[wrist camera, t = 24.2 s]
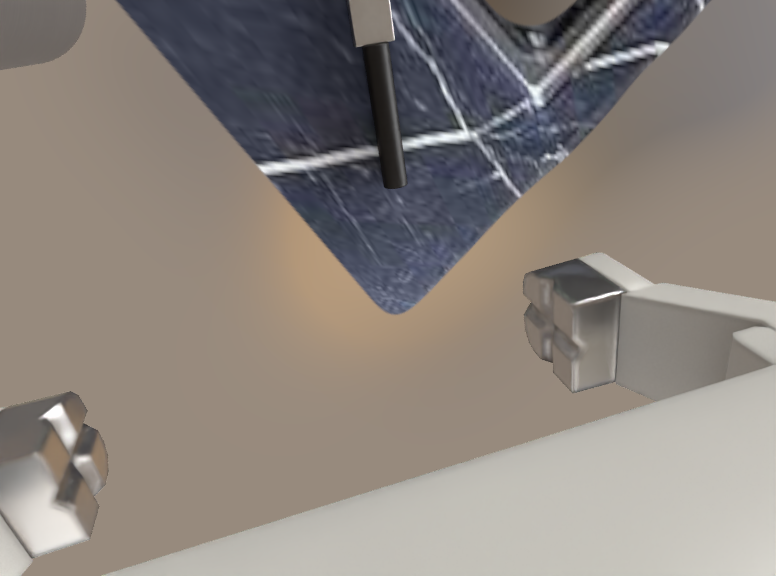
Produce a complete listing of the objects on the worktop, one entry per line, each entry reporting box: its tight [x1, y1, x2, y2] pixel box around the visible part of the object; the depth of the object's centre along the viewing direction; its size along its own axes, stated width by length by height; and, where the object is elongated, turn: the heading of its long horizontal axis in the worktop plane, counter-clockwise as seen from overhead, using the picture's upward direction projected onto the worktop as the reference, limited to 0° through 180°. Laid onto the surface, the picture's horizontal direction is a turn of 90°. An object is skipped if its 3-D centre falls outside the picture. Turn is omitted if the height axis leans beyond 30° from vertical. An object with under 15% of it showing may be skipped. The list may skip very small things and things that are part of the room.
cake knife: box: [346, 0, 407, 189], centre depth 40 cm, size 25×3×2 cm, turn 9°
